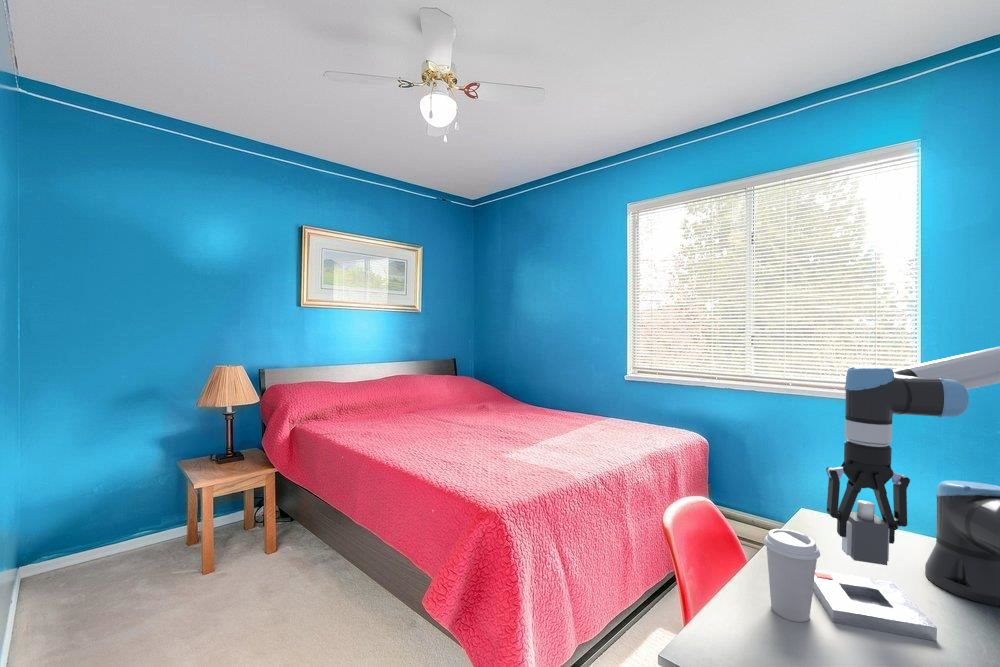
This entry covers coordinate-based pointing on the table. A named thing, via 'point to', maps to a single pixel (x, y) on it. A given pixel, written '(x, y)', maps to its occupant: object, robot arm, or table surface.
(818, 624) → the table surface
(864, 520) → the plug
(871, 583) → the socket plate
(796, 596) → the coffee cup
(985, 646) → the table surface
